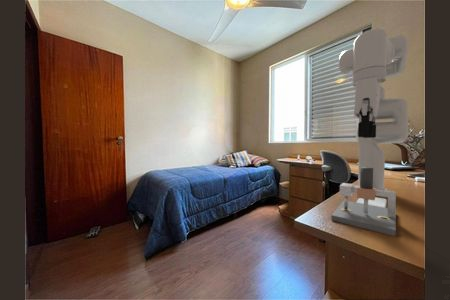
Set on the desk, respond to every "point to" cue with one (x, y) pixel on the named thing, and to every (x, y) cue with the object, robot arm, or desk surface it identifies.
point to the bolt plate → (366, 217)
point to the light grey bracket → (350, 189)
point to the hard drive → (375, 202)
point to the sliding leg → (366, 186)
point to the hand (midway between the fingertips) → (367, 137)
